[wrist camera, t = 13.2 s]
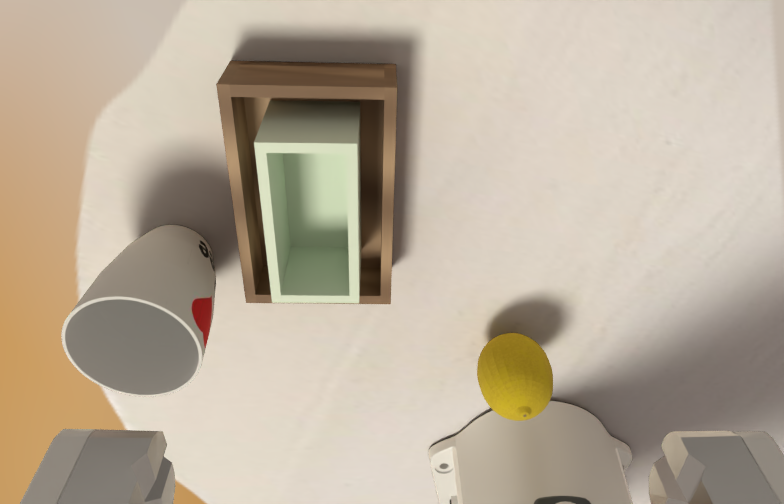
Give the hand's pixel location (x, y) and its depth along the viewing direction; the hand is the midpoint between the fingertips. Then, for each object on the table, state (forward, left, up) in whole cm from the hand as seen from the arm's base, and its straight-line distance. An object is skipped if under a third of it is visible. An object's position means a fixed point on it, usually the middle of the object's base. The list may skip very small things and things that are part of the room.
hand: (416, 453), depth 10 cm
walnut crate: (-12, +4, -31) cm, 34 cm away
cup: (-18, +15, -31) cm, 39 cm away
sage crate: (-12, +4, -31) cm, 33 cm away
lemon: (-26, -10, -31) cm, 42 cm away
